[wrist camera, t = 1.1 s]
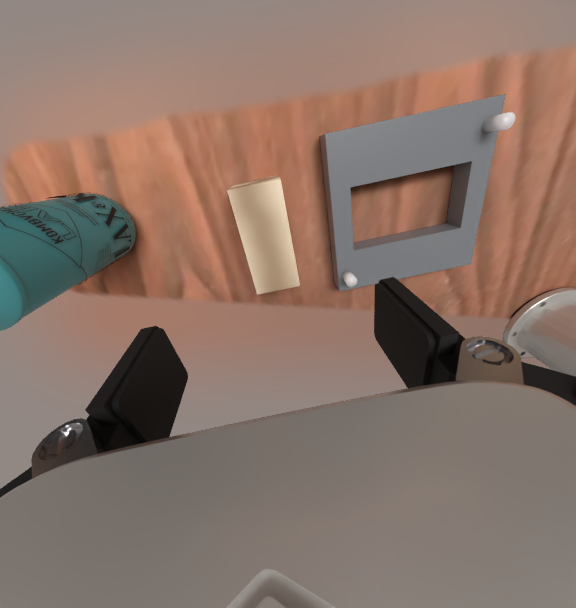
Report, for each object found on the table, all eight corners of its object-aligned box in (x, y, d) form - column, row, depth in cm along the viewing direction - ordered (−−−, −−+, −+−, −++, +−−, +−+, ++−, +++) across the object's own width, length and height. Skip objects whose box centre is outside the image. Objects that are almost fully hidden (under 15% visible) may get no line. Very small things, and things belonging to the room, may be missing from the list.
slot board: (483, 100, 23) (526, 87, 20) (456, 257, 32) (483, 270, 28) (319, 136, 24) (330, 131, 20) (334, 282, 32) (344, 299, 28)
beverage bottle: (141, 260, 28) (-50, 413, 11) (75, 239, 27) (-273, 382, 9) (148, 204, 26) (-92, 292, 8) (75, 177, 24) (-421, 216, 7)
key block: (276, 175, 25) (280, 178, 20) (293, 264, 30) (299, 285, 25) (234, 184, 25) (227, 190, 20) (258, 272, 30) (257, 294, 25)
